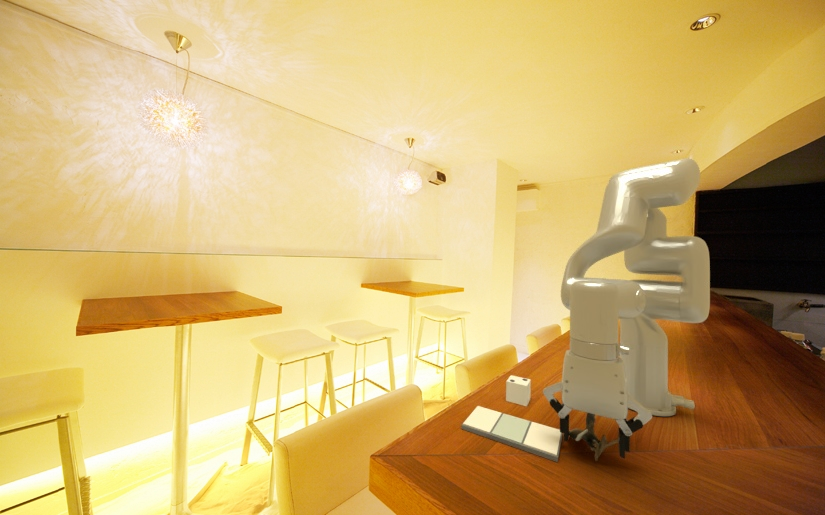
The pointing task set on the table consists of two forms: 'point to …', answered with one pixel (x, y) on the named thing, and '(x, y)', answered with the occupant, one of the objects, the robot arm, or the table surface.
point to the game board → (515, 432)
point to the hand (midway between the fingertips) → (592, 444)
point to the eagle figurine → (591, 436)
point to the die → (518, 390)
